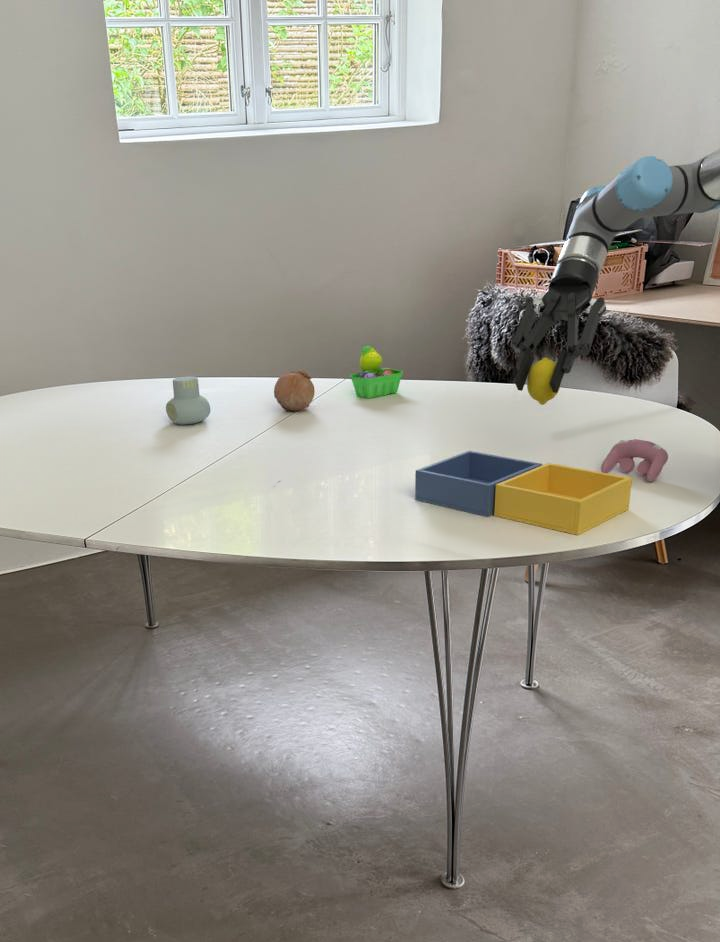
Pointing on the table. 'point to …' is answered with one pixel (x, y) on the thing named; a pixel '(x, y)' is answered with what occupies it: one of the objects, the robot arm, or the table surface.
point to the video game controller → (640, 449)
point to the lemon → (541, 381)
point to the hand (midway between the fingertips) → (535, 386)
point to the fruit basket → (374, 376)
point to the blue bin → (467, 481)
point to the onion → (294, 391)
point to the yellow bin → (563, 498)
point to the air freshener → (187, 402)
